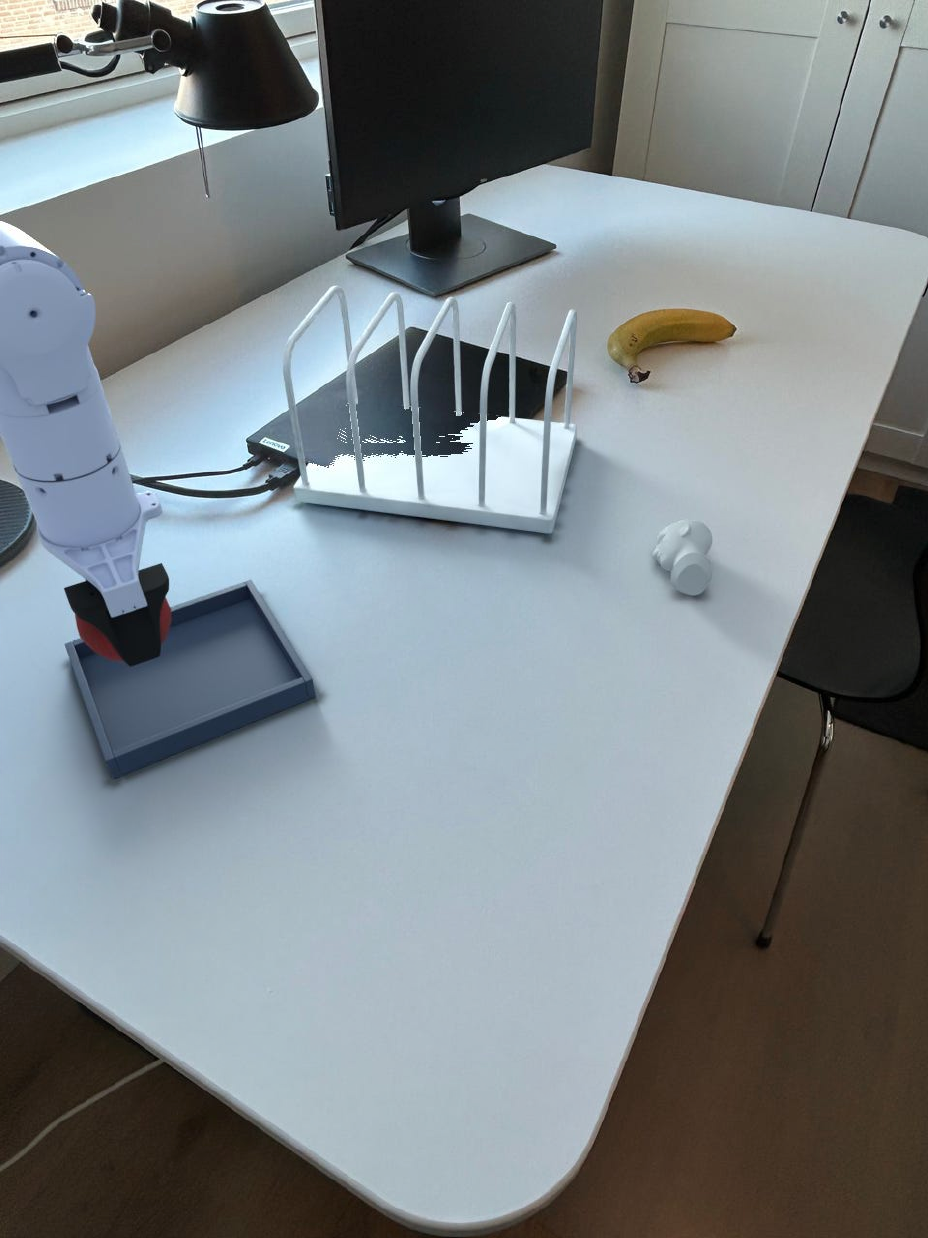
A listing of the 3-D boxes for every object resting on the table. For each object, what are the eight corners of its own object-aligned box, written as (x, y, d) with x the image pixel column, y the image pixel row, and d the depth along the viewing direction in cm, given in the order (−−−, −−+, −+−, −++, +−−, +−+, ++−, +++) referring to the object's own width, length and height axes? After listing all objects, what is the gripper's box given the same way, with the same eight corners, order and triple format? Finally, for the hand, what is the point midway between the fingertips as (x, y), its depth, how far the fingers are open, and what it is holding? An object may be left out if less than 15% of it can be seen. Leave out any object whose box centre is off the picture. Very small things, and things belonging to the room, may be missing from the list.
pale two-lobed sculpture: (658, 551, 81) (715, 544, 79) (654, 607, 75) (716, 600, 73) (650, 512, 78) (708, 504, 77) (645, 567, 73) (709, 560, 71)
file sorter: (576, 439, 93) (590, 295, 82) (551, 539, 81) (564, 383, 70) (350, 413, 97) (336, 272, 86) (294, 504, 85) (268, 352, 74)
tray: (113, 779, 61) (105, 761, 60) (72, 661, 69) (64, 643, 68) (316, 696, 67) (312, 678, 65) (255, 596, 75) (251, 578, 74)
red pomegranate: (198, 637, 61) (172, 547, 56) (150, 695, 57) (117, 605, 52) (127, 618, 63) (95, 529, 57) (76, 673, 59) (36, 583, 53)
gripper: (175, 498, 46) (224, 675, 55) (108, 381, 55) (160, 550, 65) (34, 539, 43) (111, 718, 53) (-11, 410, 53) (61, 582, 62)
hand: (131, 628), depth 58 cm, fingers closed on red pomegranate, 6 cm apart
